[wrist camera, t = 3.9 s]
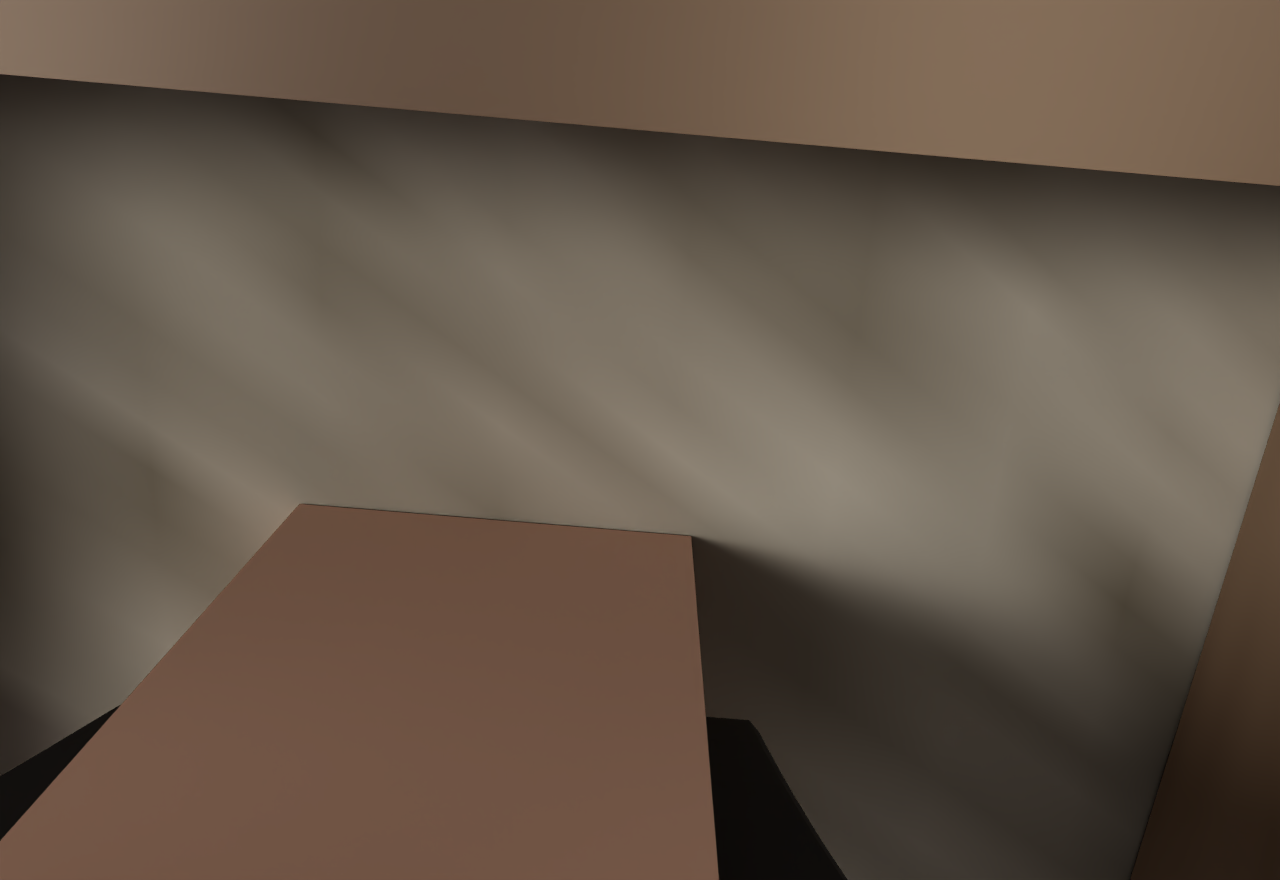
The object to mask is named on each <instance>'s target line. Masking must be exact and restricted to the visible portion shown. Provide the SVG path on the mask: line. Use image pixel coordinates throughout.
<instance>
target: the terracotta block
mask: <svg viewBox="0 0 1280 880" xmlns="http://www.w3.org/2000/svg"><path fill="white" fill-rule="evenodd" d="M0 880H719V874H718V862H717V850H716V837H715V825H714V813H713V800H712V788H711V776H710V763H709V751H708V739H707V726H706V714H705V702H704V689H703V677H702V665H701V652H700V640H699V628H698V615H697V603H696V591H695V578H694V566H693V554H692V541H691V536H682V535H670V534H658V533H646V532H634V531H622V530H609V529H597V528H585V527H573V526H561V525H549V524H537V523H524V522H512V521H500V520H488V519H476V518H464V517H452V516H439V515H427V514H415V513H403V512H391V511H379V510H367V509H354V508H342V507H330V506H318V505H306V504H299V505H298V506H297V507H296V508H295V510H294V511H293V512H292V513H291V514H290V515H289V516H288V517H287V519H286V520H285V521H284V522H283V523H282V524H281V525H280V526H279V528H278V529H277V530H276V531H275V532H274V533H273V534H272V535H271V537H270V538H269V539H268V540H267V541H266V542H265V543H264V544H263V546H262V547H261V548H260V549H259V550H258V551H257V552H256V553H255V555H254V556H253V557H252V558H251V559H250V560H249V561H248V562H247V564H246V565H245V566H244V567H243V568H242V569H241V570H240V571H239V573H238V574H237V575H236V576H235V577H234V578H233V579H232V581H231V582H230V583H229V584H228V585H227V586H226V587H225V588H224V590H223V591H222V592H221V593H220V594H219V595H218V596H217V597H216V599H215V600H214V601H213V602H212V603H211V604H210V605H209V606H208V608H207V609H206V610H205V611H204V612H203V613H202V614H201V615H200V617H199V618H198V619H197V620H196V621H195V622H194V623H193V624H192V626H191V627H190V628H189V629H188V630H187V631H186V632H185V633H184V635H183V636H182V637H181V638H180V639H179V640H178V641H177V642H176V644H175V645H174V646H173V647H172V648H171V649H170V650H169V651H168V653H167V654H166V655H165V656H164V657H163V658H162V659H161V660H160V662H159V663H158V664H157V665H156V666H155V667H154V668H153V669H152V671H151V672H150V673H149V674H148V675H147V676H146V677H145V678H144V680H143V681H142V682H141V683H140V684H139V685H138V686H137V687H136V689H135V690H134V691H133V692H132V693H131V694H130V695H129V696H128V698H127V699H126V700H125V701H124V702H123V703H122V704H121V705H120V707H119V708H118V709H117V710H116V711H115V712H114V713H113V714H112V716H111V717H110V718H109V719H108V720H107V721H106V722H105V724H104V725H103V726H102V727H101V728H100V729H99V730H98V731H97V733H96V734H95V735H94V736H93V737H92V738H91V739H90V740H89V742H88V743H87V744H86V745H85V746H84V747H83V748H82V749H81V751H80V752H79V753H78V754H77V755H76V756H75V757H74V758H73V760H72V761H71V762H70V763H69V764H68V765H67V766H66V767H65V769H64V770H63V771H62V772H61V773H60V774H59V775H58V776H57V778H56V779H55V780H54V781H53V782H52V783H51V784H50V785H49V787H48V788H47V789H46V790H45V791H44V792H43V793H42V794H41V796H40V797H39V798H38V799H37V800H36V801H35V802H34V803H33V805H32V806H31V807H30V808H29V809H28V810H27V811H26V812H25V814H24V815H23V816H22V817H21V818H20V819H19V820H18V821H17V823H16V824H15V825H14V826H13V827H12V828H11V829H10V830H9V832H8V833H7V834H6V835H5V836H4V837H3V838H2V839H1V841H0Z"/></svg>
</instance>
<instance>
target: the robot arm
mask: <svg viewBox="0 0 1280 880" xmlns="http://www.w3.org/2000/svg"><path fill="white" fill-rule="evenodd" d="M119 707H120V705H119V706H118V707H116V708H114V709H113V710H111V711H109V712H108V713H106V714H104V715H103V716H101V717H99V718H98V719H96V720H94V721H93V722H91V723H89V724H88V725H86V726H84V727H83V728H81V729H79V730H78V731H76V732H74V733H73V734H71V735H69V736H68V737H66V738H64V739H63V740H61V741H59V742H58V743H56V744H54V745H53V746H51V747H49V748H48V749H46V750H44V751H43V752H41V753H39V754H38V755H36V756H34V757H33V758H31V759H29V760H27V761H26V762H24V763H22V764H21V765H19V766H17V767H16V768H14V769H12V770H11V771H9V772H7V773H6V774H4V775H2V776H0V841H1V839H2V838H3V837H4V836H5V835H6V834H7V833H8V832H9V830H10V829H11V828H12V827H13V826H14V825H15V824H16V823H17V821H18V820H19V819H20V818H21V817H22V816H23V815H24V814H25V812H26V811H27V810H28V809H29V808H30V807H31V806H32V805H33V803H34V802H35V801H36V800H37V799H38V798H39V797H40V796H41V794H42V793H43V792H44V791H45V790H46V789H47V788H48V787H49V785H50V784H51V783H52V782H53V781H54V780H55V779H56V778H57V776H58V775H59V774H60V773H61V772H62V771H63V770H64V769H65V767H66V766H67V765H68V764H69V763H70V762H71V761H72V760H73V758H74V757H75V756H76V755H77V754H78V753H79V752H80V751H81V749H82V748H83V747H84V746H85V745H86V744H87V743H88V742H89V740H90V739H91V738H92V737H93V736H94V735H95V734H96V733H97V731H98V730H99V729H100V728H101V727H102V726H103V725H104V724H105V722H106V721H107V720H108V719H109V718H110V717H111V716H112V714H113V713H114V712H115V711H116V710H117V709H118V708H119ZM706 726H707V739H708V751H709V763H710V776H711V788H712V800H713V813H714V825H715V837H716V850H717V862H718V874H719V880H847V878H846V877H845V875H844V874H843V872H842V871H841V869H840V868H839V866H838V865H837V863H836V862H835V860H834V859H833V857H832V856H831V854H830V853H829V851H828V850H827V848H826V847H825V845H824V844H823V842H822V841H821V839H820V837H819V836H818V834H817V833H816V831H815V829H814V828H813V826H812V825H811V823H810V821H809V820H808V818H807V816H806V815H805V813H804V811H803V810H802V808H801V806H800V805H799V803H798V801H797V800H796V798H795V796H794V795H793V793H792V791H791V790H790V788H789V786H788V784H787V783H786V781H785V779H784V778H783V776H782V774H781V772H780V770H779V769H778V767H777V765H776V763H775V761H774V760H773V758H772V756H771V754H770V752H769V750H768V748H767V747H766V745H765V743H764V741H763V739H762V737H761V735H760V733H759V732H758V730H757V729H756V728H755V727H754V726H753V724H752V723H751V722H750V721H749V720H739V719H726V718H714V717H706Z"/></svg>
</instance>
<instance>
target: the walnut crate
mask: <svg viewBox="0 0 1280 880" xmlns="http://www.w3.org/2000/svg"><path fill="white" fill-rule="evenodd" d="M0 74H6V75H17V76H29V77H40V78H52V79H63V80H74V81H86V82H97V83H109V84H120V85H132V86H143V87H154V88H166V89H177V90H189V91H200V92H212V93H223V94H234V95H246V96H257V97H269V98H280V99H292V100H303V101H315V102H326V103H337V104H349V105H360V106H372V107H383V108H395V109H406V110H417V111H429V112H440V113H452V114H463V115H475V116H486V117H497V118H509V119H520V120H532V121H543V122H555V123H566V124H578V125H589V126H600V127H612V128H623V129H635V130H646V131H658V132H669V133H680V134H692V135H703V136H715V137H726V138H738V139H749V140H760V141H772V142H783V143H795V144H806V145H818V146H829V147H841V148H852V149H863V150H875V151H886V152H898V153H909V154H921V155H932V156H943V157H955V158H966V159H978V160H989V161H1001V162H1012V163H1023V164H1035V165H1046V166H1058V167H1069V168H1081V169H1092V170H1104V171H1115V172H1126V173H1138V174H1149V175H1161V176H1172V177H1184V178H1195V179H1206V180H1218V181H1229V182H1241V183H1252V184H1264V185H1275V186H1280V0H0ZM1130 880H1280V404H1279V407H1278V410H1277V413H1276V417H1275V420H1274V423H1273V426H1272V429H1271V433H1270V436H1269V439H1268V442H1267V445H1266V448H1265V452H1264V455H1263V458H1262V461H1261V464H1260V468H1259V471H1258V474H1257V477H1256V480H1255V484H1254V487H1253V490H1252V493H1251V496H1250V499H1249V503H1248V506H1247V509H1246V512H1245V515H1244V519H1243V522H1242V525H1241V528H1240V531H1239V534H1238V538H1237V541H1236V544H1235V547H1234V550H1233V554H1232V557H1231V560H1230V563H1229V566H1228V570H1227V573H1226V576H1225V579H1224V582H1223V585H1222V589H1221V592H1220V595H1219V598H1218V601H1217V605H1216V608H1215V611H1214V614H1213V617H1212V621H1211V624H1210V627H1209V630H1208V633H1207V636H1206V640H1205V643H1204V646H1203V649H1202V652H1201V656H1200V659H1199V662H1198V665H1197V668H1196V672H1195V675H1194V678H1193V681H1192V684H1191V687H1190V691H1189V694H1188V697H1187V700H1186V703H1185V707H1184V710H1183V713H1182V716H1181V719H1180V723H1179V726H1178V729H1177V732H1176V735H1175V738H1174V742H1173V745H1172V748H1171V751H1170V754H1169V758H1168V761H1167V764H1166V767H1165V770H1164V773H1163V777H1162V780H1161V783H1160V786H1159V789H1158V793H1157V796H1156V799H1155V802H1154V805H1153V809H1152V812H1151V815H1150V818H1149V821H1148V824H1147V828H1146V831H1145V834H1144V837H1143V840H1142V844H1141V847H1140V850H1139V853H1138V856H1137V860H1136V863H1135V866H1134V869H1133V872H1132V875H1131V879H1130Z"/></svg>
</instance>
